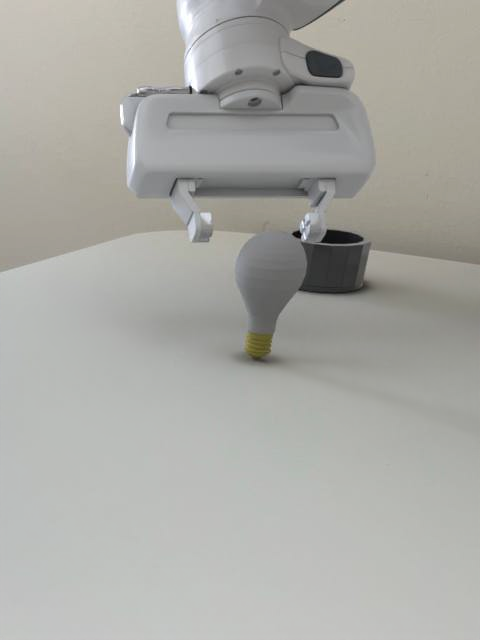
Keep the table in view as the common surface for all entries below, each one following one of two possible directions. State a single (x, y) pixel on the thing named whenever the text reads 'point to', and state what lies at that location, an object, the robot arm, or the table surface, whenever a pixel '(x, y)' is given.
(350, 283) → the socket
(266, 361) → the table surface
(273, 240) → the light bulb
